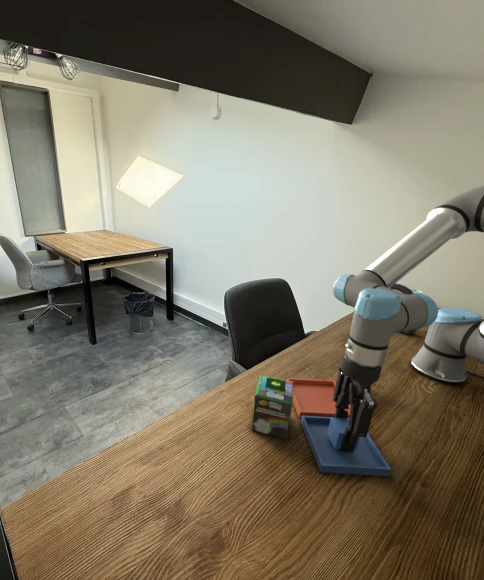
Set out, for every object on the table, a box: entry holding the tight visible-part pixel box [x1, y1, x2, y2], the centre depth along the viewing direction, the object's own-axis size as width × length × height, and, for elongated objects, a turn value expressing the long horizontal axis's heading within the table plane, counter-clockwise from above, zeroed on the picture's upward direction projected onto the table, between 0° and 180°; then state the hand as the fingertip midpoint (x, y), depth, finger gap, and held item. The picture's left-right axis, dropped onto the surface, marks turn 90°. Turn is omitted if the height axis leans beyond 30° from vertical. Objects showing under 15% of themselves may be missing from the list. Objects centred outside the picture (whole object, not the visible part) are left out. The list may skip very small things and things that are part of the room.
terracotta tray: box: [285, 377, 351, 419], centre depth 90 cm, size 15×15×2 cm
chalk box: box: [251, 374, 294, 440], centre depth 79 cm, size 9×9×15 cm
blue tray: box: [300, 416, 392, 477], centre depth 74 cm, size 15×15×2 cm
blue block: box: [327, 418, 360, 451], centre depth 73 cm, size 5×5×5 cm
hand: (341, 440), depth 74 cm, fingers closed on blue block, 5 cm apart
